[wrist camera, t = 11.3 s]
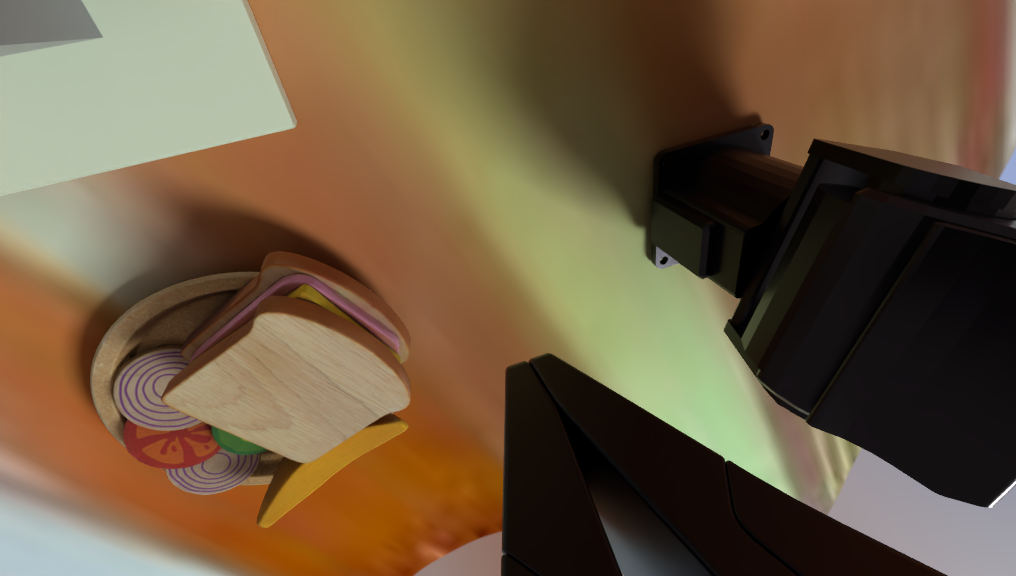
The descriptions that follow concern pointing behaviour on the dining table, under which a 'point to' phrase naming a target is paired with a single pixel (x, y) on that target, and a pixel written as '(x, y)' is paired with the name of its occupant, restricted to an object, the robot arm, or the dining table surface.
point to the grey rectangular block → (43, 24)
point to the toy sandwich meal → (255, 379)
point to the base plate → (137, 91)
